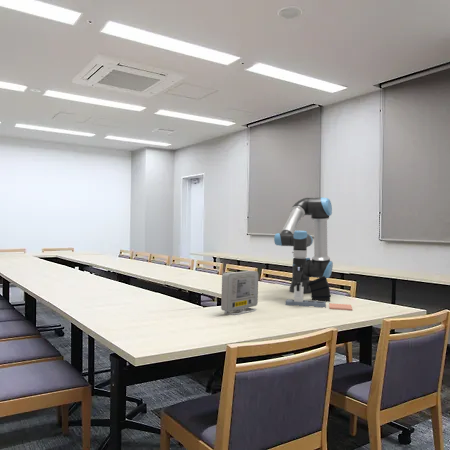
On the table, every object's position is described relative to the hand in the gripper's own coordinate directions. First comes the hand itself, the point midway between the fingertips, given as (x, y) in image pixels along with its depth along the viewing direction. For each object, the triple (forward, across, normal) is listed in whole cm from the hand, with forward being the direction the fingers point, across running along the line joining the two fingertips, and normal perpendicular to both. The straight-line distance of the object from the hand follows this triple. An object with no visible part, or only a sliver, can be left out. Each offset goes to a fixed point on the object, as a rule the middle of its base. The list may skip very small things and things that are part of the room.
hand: (298, 295), depth 243 cm
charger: (+5, 0, 0) cm, 5 cm away
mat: (+5, 0, +23) cm, 24 cm away
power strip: (+5, 0, +4) cm, 7 cm away
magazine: (+6, -20, +11) cm, 23 cm away
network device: (+6, +33, -27) cm, 43 cm away
